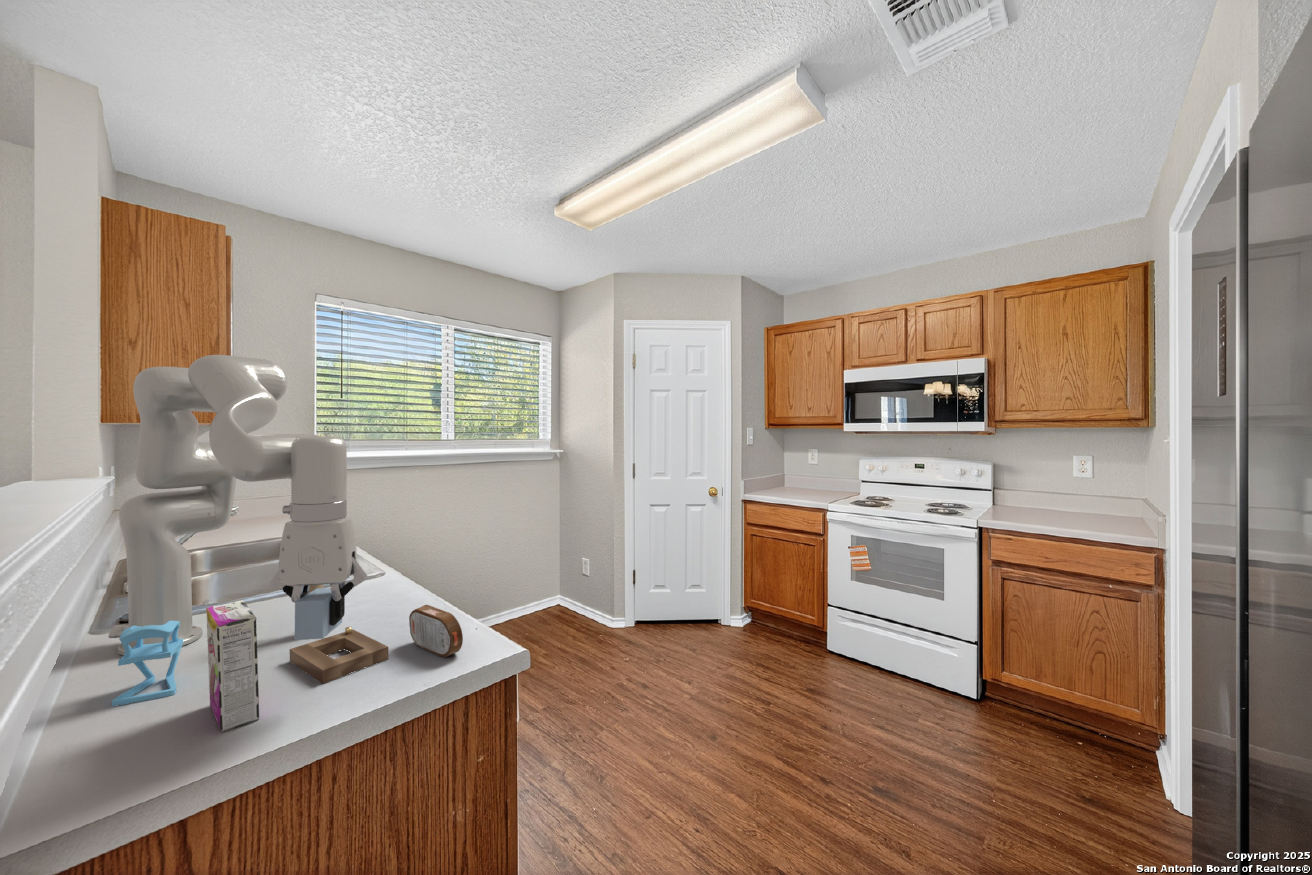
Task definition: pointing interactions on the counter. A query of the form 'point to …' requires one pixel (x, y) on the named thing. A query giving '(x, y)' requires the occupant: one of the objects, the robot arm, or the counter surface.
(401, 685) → the counter surface
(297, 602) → the blue peg
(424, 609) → the tin
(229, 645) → the candy bar box
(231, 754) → the counter surface
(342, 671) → the socket block
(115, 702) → the chair
